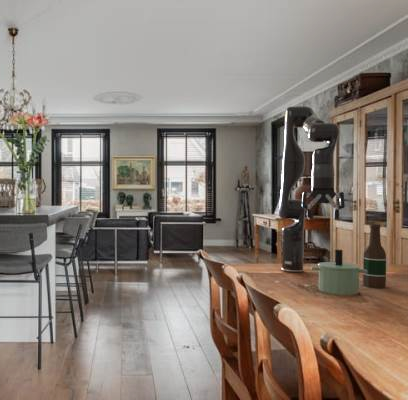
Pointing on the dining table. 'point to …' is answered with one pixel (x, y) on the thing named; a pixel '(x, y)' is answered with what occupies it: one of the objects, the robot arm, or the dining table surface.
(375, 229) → the beer bottle
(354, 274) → the pot
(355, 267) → the lid
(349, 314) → the dining table surface
